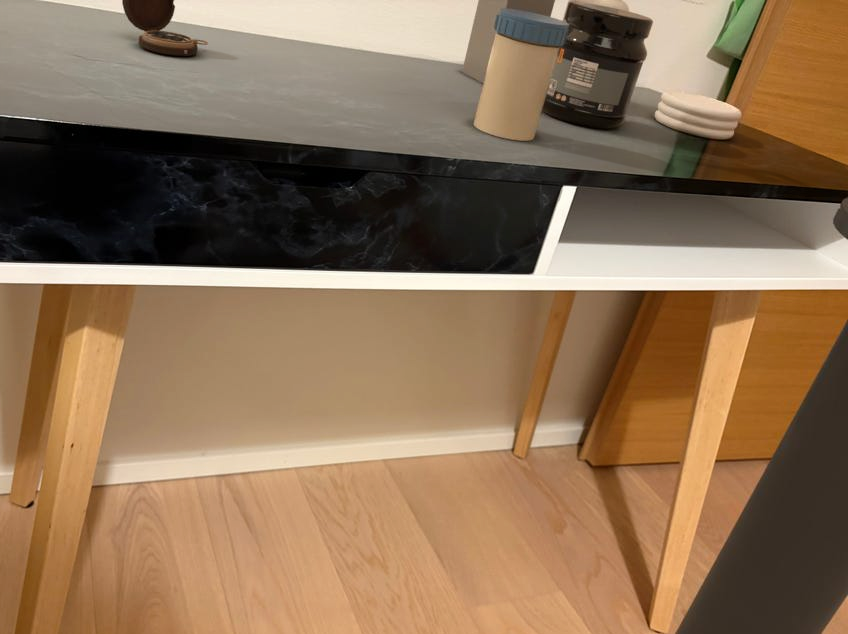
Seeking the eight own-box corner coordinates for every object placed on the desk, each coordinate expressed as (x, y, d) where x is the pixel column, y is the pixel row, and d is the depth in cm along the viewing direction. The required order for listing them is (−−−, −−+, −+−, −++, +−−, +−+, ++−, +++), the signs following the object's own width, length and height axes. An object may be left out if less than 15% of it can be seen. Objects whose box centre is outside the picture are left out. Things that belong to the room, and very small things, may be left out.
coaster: (745, 139, 103) (757, 112, 101) (705, 142, 97) (717, 113, 95) (679, 116, 109) (689, 89, 107) (638, 116, 103) (647, 88, 101)
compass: (160, 58, 82) (164, -19, 79) (118, 38, 87) (120, -35, 83) (223, 57, 88) (229, -14, 84) (180, 39, 92) (184, -30, 88)
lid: (575, 50, 76) (582, 29, 75) (509, 39, 74) (514, 17, 73) (546, 35, 82) (552, 15, 81) (483, 24, 80) (488, 4, 79)
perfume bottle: (504, 76, 110) (541, -69, 101) (530, 90, 105) (572, -62, 96) (461, 72, 108) (496, -79, 99) (486, 85, 102) (525, -72, 93)
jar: (543, 144, 81) (576, 33, 76) (485, 136, 79) (514, 22, 74) (520, 125, 86) (549, 21, 81) (465, 118, 84) (491, 10, 79)
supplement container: (600, 112, 101) (633, 10, 95) (636, 136, 92) (675, 26, 86) (522, 99, 99) (551, -5, 93) (552, 123, 90) (586, 9, 84)
